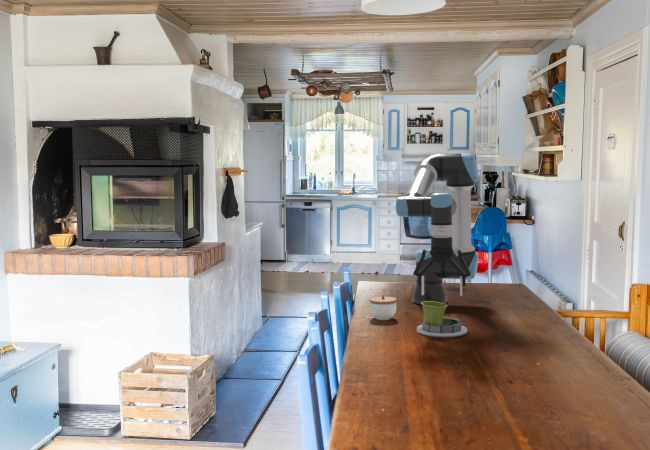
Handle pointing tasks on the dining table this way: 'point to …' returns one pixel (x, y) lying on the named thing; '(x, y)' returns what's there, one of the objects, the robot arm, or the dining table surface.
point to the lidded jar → (383, 307)
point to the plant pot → (433, 312)
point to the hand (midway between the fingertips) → (441, 294)
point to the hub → (443, 328)
